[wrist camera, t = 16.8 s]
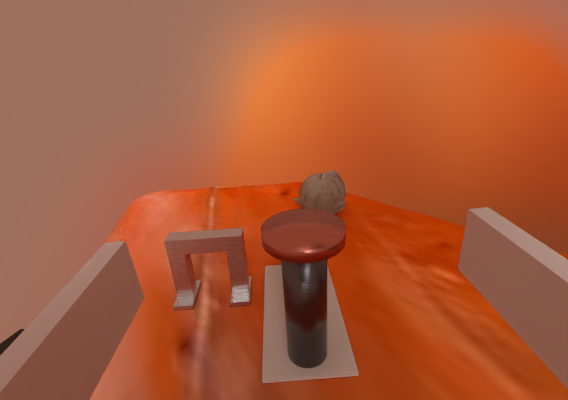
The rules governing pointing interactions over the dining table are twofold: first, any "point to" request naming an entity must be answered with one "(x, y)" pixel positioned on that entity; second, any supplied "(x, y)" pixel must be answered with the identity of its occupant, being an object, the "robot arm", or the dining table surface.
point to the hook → (304, 276)
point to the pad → (275, 338)
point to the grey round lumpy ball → (322, 192)
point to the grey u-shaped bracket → (207, 242)
